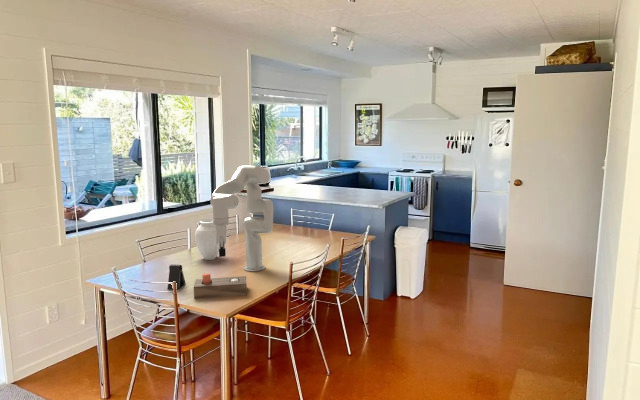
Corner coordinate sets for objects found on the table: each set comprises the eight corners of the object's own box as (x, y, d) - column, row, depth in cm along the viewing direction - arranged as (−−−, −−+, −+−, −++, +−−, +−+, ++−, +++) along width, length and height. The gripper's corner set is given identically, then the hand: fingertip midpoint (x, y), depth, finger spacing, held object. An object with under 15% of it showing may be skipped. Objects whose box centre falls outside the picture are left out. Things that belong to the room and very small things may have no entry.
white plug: (231, 289, 242) (230, 279, 241) (238, 288, 243) (238, 278, 242) (230, 291, 238) (230, 281, 237) (238, 291, 239) (238, 281, 238)
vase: (217, 262, 292) (215, 223, 288) (190, 261, 296) (188, 223, 292) (228, 255, 309) (226, 218, 305) (203, 253, 313) (201, 217, 309)
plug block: (196, 290, 243) (195, 279, 242) (246, 286, 248) (246, 276, 247) (194, 298, 232) (193, 286, 231) (246, 294, 236) (246, 283, 235)
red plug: (203, 284, 239) (202, 273, 239) (211, 283, 240) (210, 273, 239) (202, 286, 236) (202, 276, 235) (210, 286, 236) (210, 275, 235)
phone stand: (178, 289, 245) (176, 267, 243) (167, 289, 246) (166, 267, 244) (185, 284, 253) (184, 262, 251) (175, 283, 254) (174, 262, 252)
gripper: (213, 218, 240) (215, 252, 243) (212, 224, 226) (214, 260, 229) (228, 217, 242) (229, 252, 245) (228, 223, 227) (230, 259, 230)
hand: (222, 256), depth 237 cm, fingers closed
